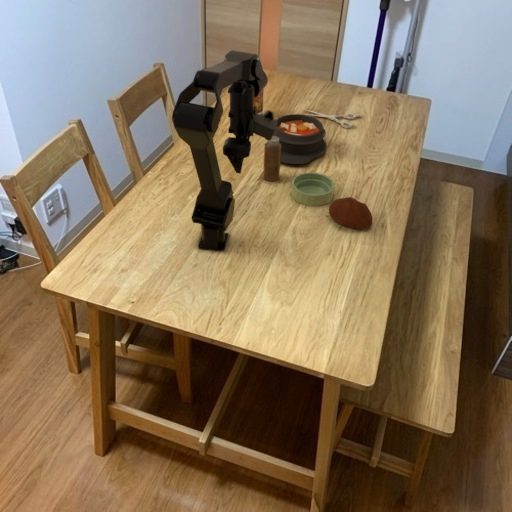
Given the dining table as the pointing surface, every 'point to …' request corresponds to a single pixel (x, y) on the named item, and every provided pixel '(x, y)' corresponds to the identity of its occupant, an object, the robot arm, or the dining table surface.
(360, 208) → the potato
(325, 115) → the scissors
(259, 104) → the milk bottle
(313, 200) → the green round dish
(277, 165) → the pepper mill
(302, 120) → the casserole
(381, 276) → the dining table surface
